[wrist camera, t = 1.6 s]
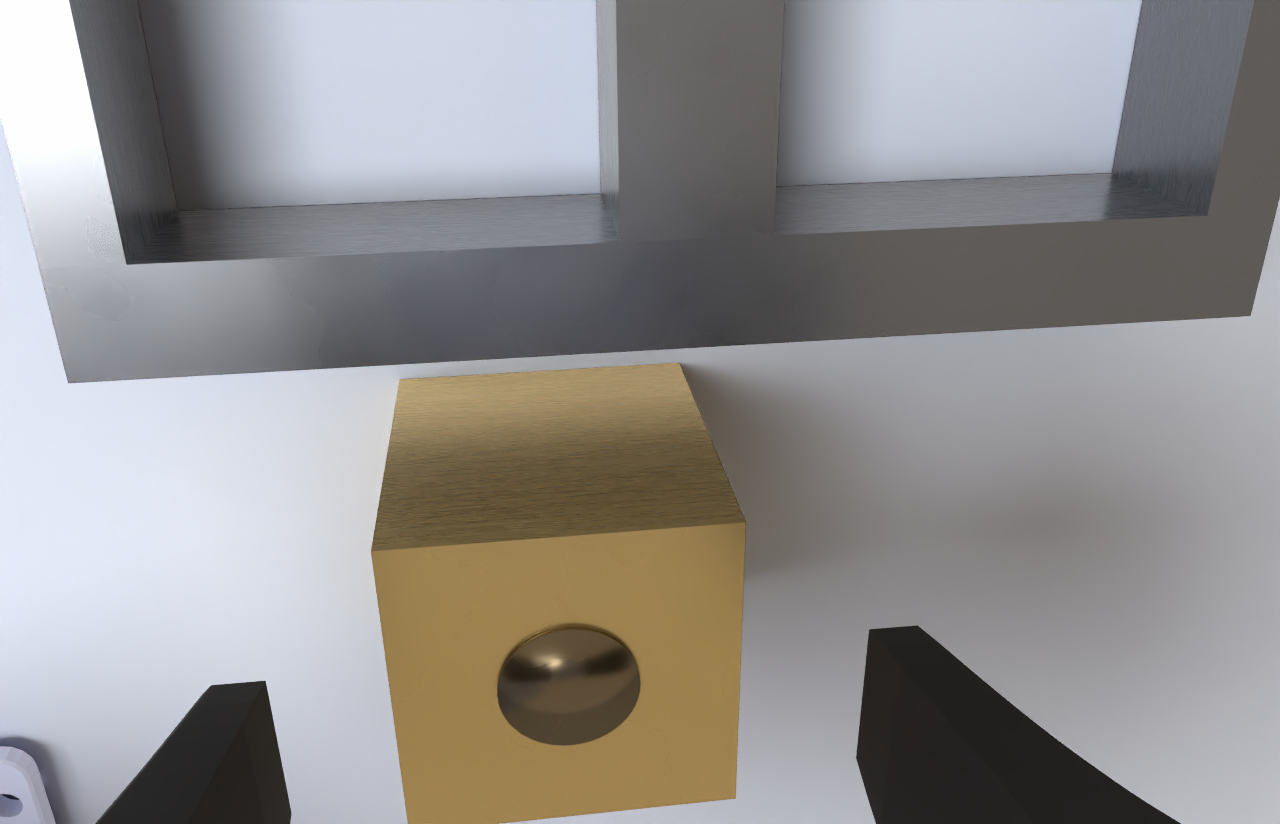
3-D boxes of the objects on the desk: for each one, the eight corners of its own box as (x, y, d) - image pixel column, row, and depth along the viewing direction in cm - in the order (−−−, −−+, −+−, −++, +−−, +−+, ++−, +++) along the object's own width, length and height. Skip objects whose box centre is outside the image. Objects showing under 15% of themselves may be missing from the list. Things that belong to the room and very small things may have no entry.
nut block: (677, 589, 19) (736, 802, 15) (426, 610, 19) (408, 837, 14) (678, 361, 18) (747, 526, 13) (400, 378, 17) (370, 555, 13)
